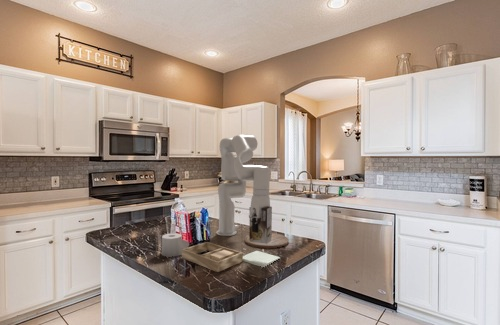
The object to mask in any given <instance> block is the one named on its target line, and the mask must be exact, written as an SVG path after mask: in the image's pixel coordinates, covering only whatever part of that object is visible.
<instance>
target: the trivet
mask: <svg viewBox="0 0 500 325" xmlns="http://www.w3.org/2000/svg"><path fill="white" fill-rule="evenodd" d="M288 241H290V240H289V238H288V237H287V236H285V235H282V234H279V233H274V232H271V241H270V242H269V243H268V244H264V243H257V242H250V241H249V234H247V235H246V236H245V237H244V242H245V244H246V245H248V246H250V247H254V248H256V249H257V248H258V249H266V248H273V249H278V248H277V247H280V248H283V247H282V246H284V247H286V246H288V245H289V242H288ZM285 245H286V246H285Z"/></svg>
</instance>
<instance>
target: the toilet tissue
mask: <svg viewBox="0 0 500 325" xmlns="http://www.w3.org/2000/svg"><path fill="white" fill-rule="evenodd" d="M188 247H190V242H189V241H187V240H184V239H182V233H181V234H180V233H177V232H176V233H171V232H170V233H165V234H162V237H161V256H163V257H165V256H166V257H165V258H167V257H168V258H169V257H170V258H173V257H178V256H182V249H185V248H188ZM172 256H173V257H172Z"/></svg>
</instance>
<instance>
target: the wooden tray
mask: <svg viewBox="0 0 500 325" xmlns="http://www.w3.org/2000/svg"><path fill="white" fill-rule="evenodd" d="M222 250H227V251H230V252H233V253H234V255H233V256H231V257H228V258H226V259H223V260H221V261H215V260H212V259H210V255H211V254H214V253H216V252H219V251H222ZM206 251H209V252H206ZM203 252H205V253H203ZM200 253H203V254H200ZM243 256H244V253H243V252H242V251H239V250H236V249H233V248H229V247H225V246H222V245H219V244H215V243H213V242H209V241H205V242H203V243H202V242H201V243H199V244H195V245H192V246H188V248H185V249H182V255H181V258H182V259H184V260H186V261H189V262H191V263H194V264H196V265H199V266H202V267H204V268H206V269H209V270H211V271H214V272H217V273H219V272H222V271H224V270H226V269H228V268H230V267H234V266H235V265H237V264H240V263H242V262H244V261H243Z"/></svg>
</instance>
